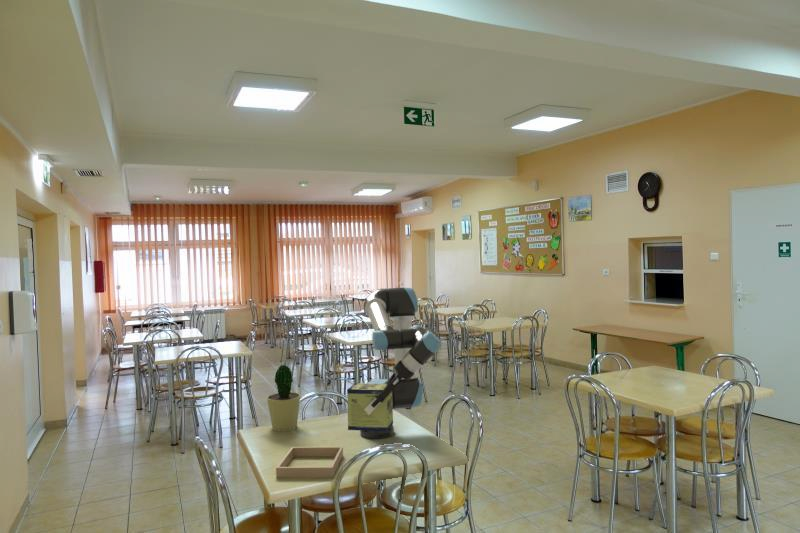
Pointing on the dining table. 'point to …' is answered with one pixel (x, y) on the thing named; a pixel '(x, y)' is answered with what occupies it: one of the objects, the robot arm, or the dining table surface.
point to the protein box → (360, 399)
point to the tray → (309, 471)
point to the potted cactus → (283, 401)
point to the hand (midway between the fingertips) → (368, 407)
